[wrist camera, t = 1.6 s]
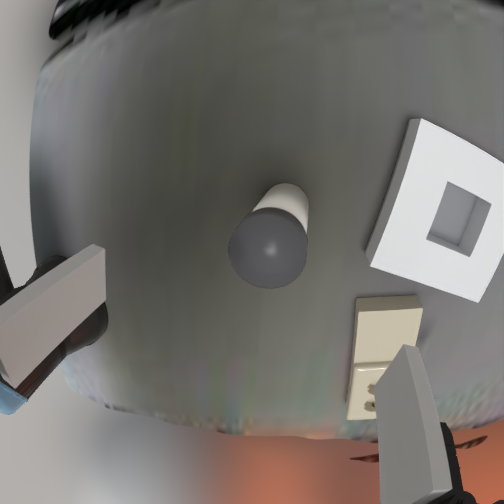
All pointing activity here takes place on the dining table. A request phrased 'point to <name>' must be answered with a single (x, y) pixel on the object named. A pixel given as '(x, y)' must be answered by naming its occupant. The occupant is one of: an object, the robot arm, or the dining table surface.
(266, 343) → the dining table surface
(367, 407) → the electrical outlet
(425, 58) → the dining table surface
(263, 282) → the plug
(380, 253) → the socket block
